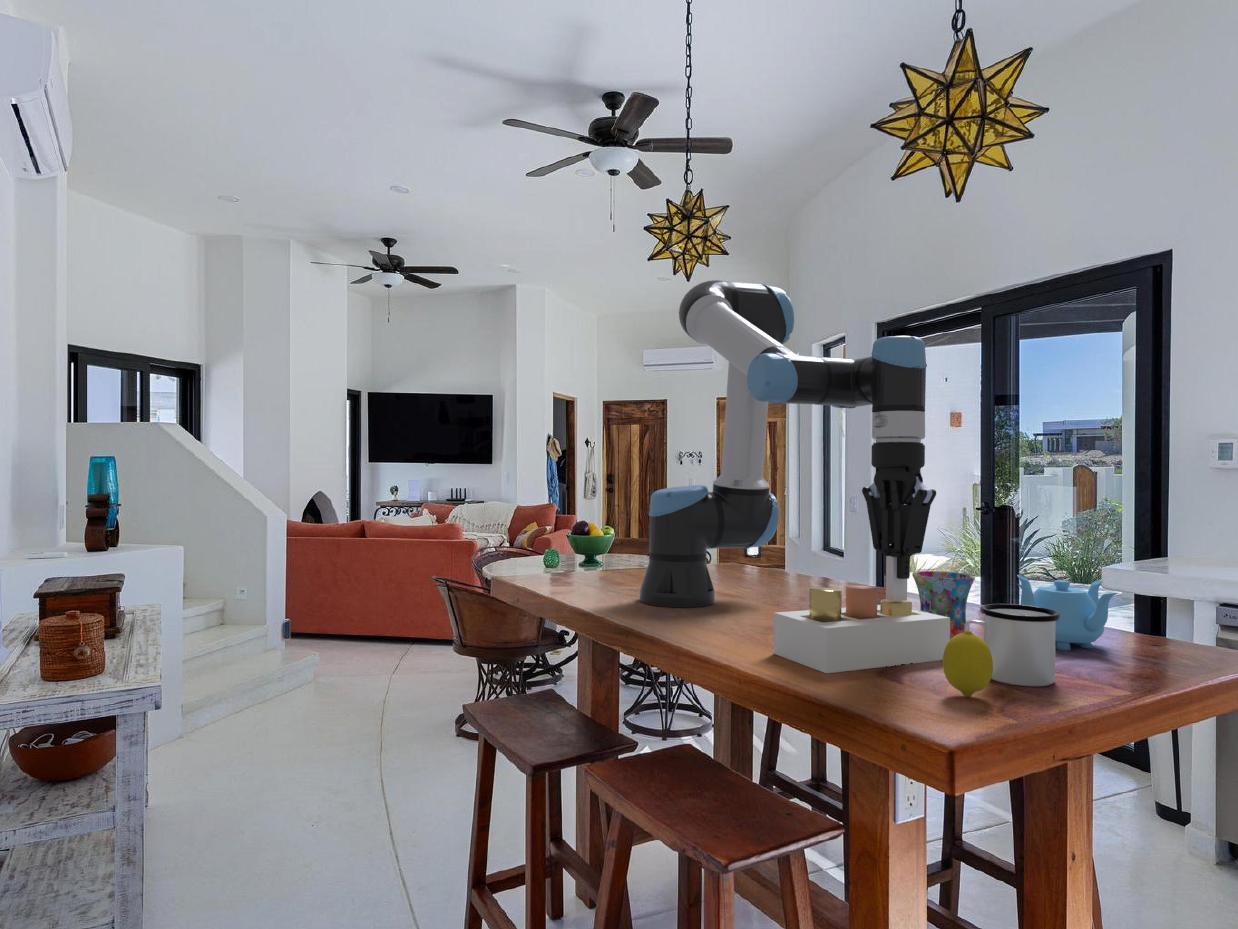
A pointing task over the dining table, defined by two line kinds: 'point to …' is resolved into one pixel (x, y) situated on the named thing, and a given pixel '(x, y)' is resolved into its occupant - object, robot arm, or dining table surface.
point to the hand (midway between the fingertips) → (896, 599)
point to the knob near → (825, 604)
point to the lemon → (967, 663)
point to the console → (860, 640)
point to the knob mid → (861, 602)
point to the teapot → (1071, 610)
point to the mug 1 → (945, 596)
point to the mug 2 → (1020, 643)
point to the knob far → (896, 608)
